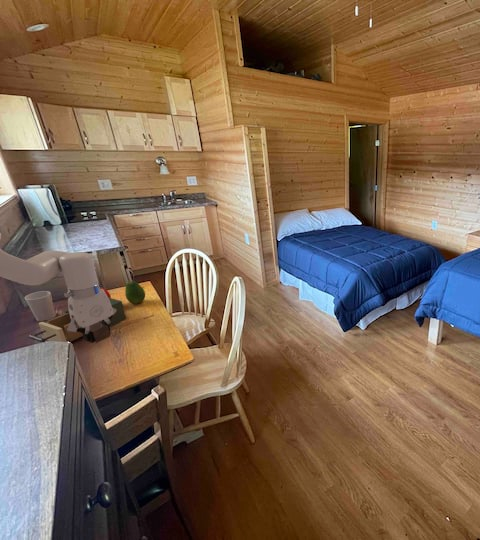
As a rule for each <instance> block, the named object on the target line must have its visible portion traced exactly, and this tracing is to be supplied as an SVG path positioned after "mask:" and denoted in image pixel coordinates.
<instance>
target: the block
mask: <svg viewBox="0 0 480 540" xmlns="http://www.w3.org/2000/svg"><path fill="white" fill-rule="evenodd" d="M90 332H91V333H92V335H93V338H94V342H93V343H95V344H97V343H100V342H102V341H104V340H106V339H107V338H110V337H111V334H110V333H109V329H108V325H105V324H102V323H99V322H98V323H95V324H93V325H91V326H90Z"/></svg>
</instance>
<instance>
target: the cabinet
mask: <svg viewBox="0 0 480 540" xmlns="http://www.w3.org/2000/svg"><path fill="white" fill-rule="evenodd" d="M109 301H110V303H111V306H112V307H113V308H114V309H116V310H117V311H116V312H115V314H114V315H113V317H112V318H111V320H110V324H109V326H110V328H112V327H114V326H117V325H118V324H120V323H122V322H123V321H126V320H127V316H126V312H125V307H124V305H123V301H122V300H119V299H115V298H112V297H111V298H109ZM66 313H69V308H66V309H64V314H66ZM97 323H98V322H97ZM99 323H101V321H99ZM90 326H91V325H90Z"/></svg>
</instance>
